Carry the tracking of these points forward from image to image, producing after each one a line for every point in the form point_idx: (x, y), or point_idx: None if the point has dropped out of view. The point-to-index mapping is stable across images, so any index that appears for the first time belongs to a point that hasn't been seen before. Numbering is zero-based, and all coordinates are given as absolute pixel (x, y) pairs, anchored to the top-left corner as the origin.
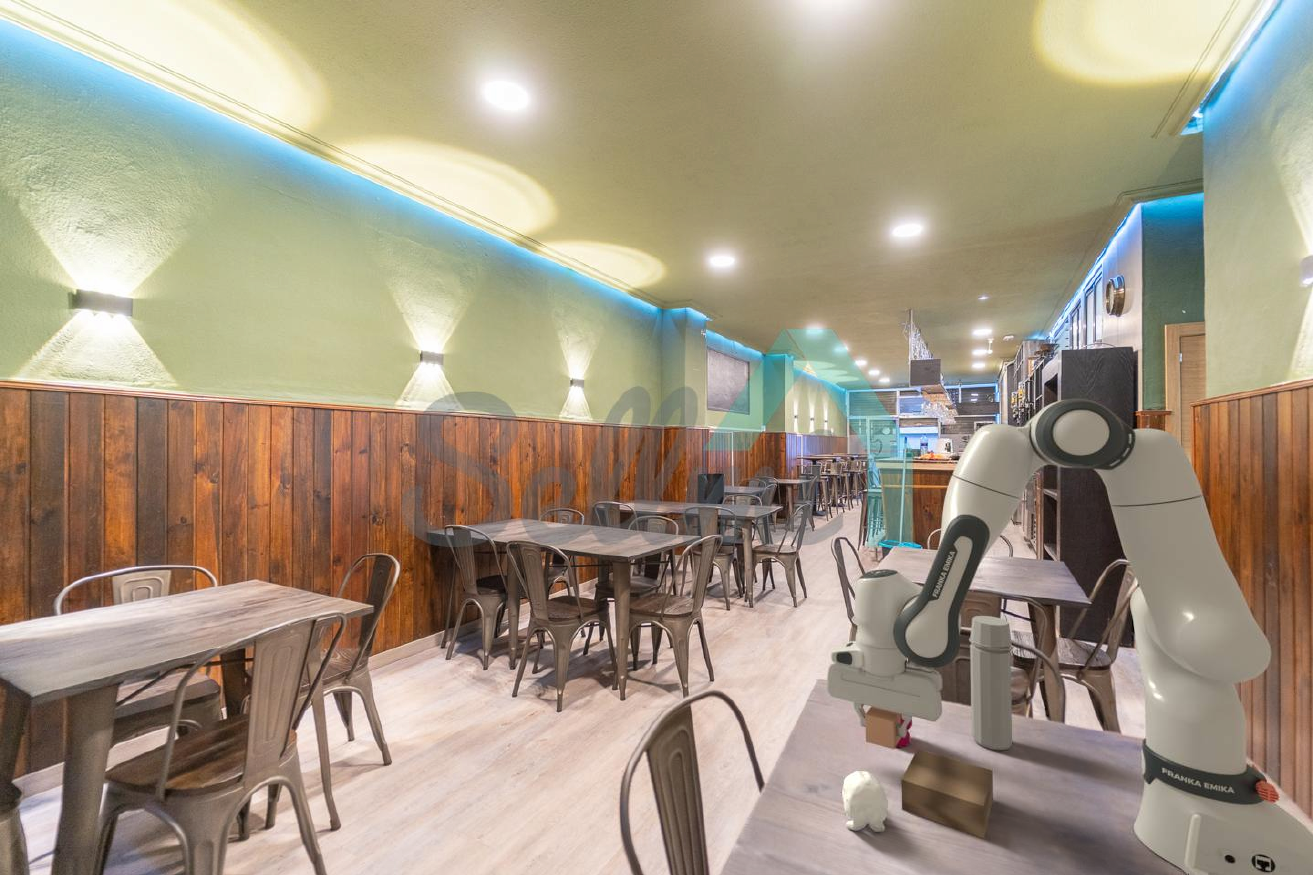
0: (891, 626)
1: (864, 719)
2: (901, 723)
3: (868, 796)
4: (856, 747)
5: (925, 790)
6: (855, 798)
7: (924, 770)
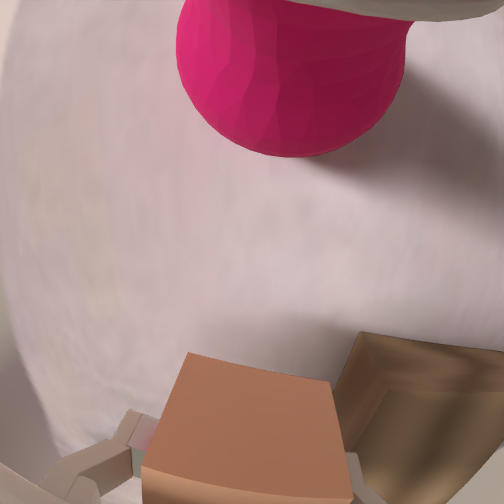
0: None
1: (138, 474)
2: (344, 144)
3: None
4: (141, 216)
5: None
6: None
7: (370, 480)
